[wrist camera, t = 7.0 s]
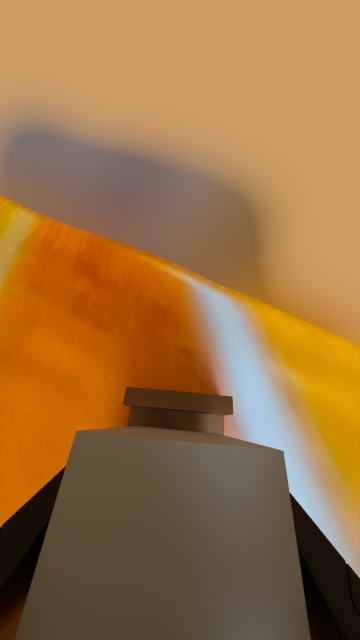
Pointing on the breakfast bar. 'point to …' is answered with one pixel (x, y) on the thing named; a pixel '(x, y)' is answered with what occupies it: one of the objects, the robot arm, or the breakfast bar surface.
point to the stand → (177, 410)
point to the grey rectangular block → (168, 542)
